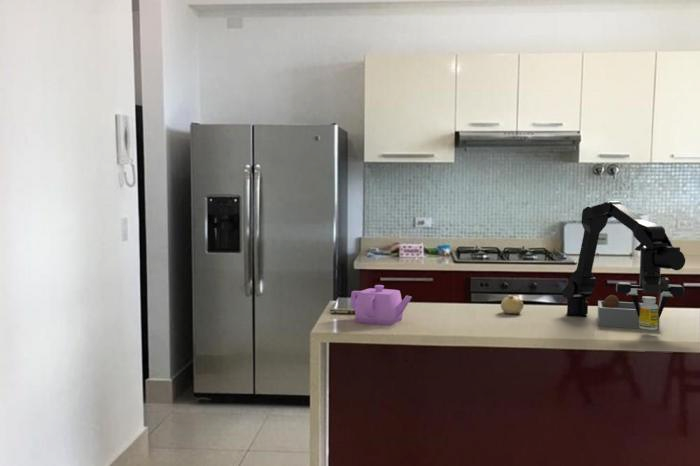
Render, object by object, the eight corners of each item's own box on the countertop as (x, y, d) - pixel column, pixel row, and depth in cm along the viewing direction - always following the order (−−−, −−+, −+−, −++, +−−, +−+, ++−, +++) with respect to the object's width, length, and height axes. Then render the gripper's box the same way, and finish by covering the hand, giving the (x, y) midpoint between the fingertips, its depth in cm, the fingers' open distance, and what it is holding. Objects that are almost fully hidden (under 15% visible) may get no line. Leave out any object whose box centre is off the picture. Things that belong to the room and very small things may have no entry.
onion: (498, 311, 232) (498, 292, 231) (519, 311, 232) (519, 292, 231) (504, 315, 224) (504, 296, 223) (526, 315, 224) (526, 295, 223)
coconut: (619, 320, 211) (625, 298, 210) (608, 320, 209) (614, 297, 208) (607, 315, 215) (613, 293, 214) (596, 315, 213) (602, 292, 212)
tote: (598, 325, 206) (599, 307, 206) (597, 317, 220) (598, 300, 219) (659, 329, 200) (659, 311, 200) (654, 321, 213) (655, 303, 213)
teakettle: (347, 318, 220) (347, 283, 220) (391, 314, 226) (391, 280, 226) (365, 328, 205) (365, 290, 204) (412, 324, 210) (412, 287, 210)
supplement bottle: (645, 325, 197) (646, 295, 197) (661, 328, 193) (662, 297, 192) (635, 327, 194) (636, 296, 194) (651, 330, 190) (652, 299, 189)
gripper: (618, 268, 188) (617, 319, 189) (688, 271, 181) (686, 324, 183) (616, 264, 198) (615, 312, 199) (682, 266, 192) (681, 316, 193)
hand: (648, 316), depth 193 cm, fingers closed on supplement bottle, 5 cm apart
